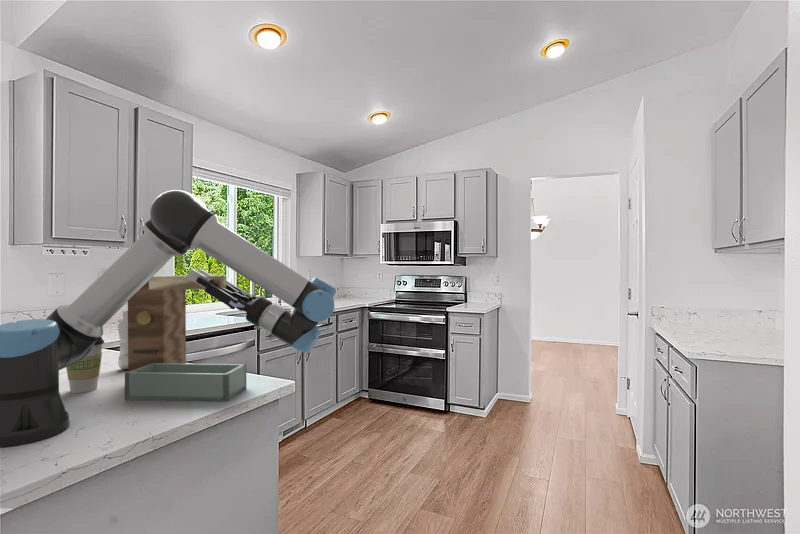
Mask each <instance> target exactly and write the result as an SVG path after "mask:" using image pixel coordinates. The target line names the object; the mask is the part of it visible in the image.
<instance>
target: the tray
mask: <svg viewBox="0 0 800 534" xmlns="http://www.w3.org/2000/svg"><path fill="white" fill-rule="evenodd" d="M246 389H247V364H246V363H244V364H243V363H187V362H186V363H152V364H149V365H146V366H143V367H140V368H138V369H135V370H132V371H129V372H128V371H127V372H125V373H124V400H126V401H127V400H130V401H132V400H138V401H139V400H140V401H143V400H144V401H180V402H182V401H194V402H195V401H196V402H199V401H200V402H229V401H230V400H232V399H233V398H235V397H236V396H237V395H239V394H241V393H242V392H243V391H245V390H246Z"/></svg>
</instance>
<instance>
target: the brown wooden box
mask: <svg viewBox="0 0 800 534" xmlns="http://www.w3.org/2000/svg"><path fill="white" fill-rule="evenodd" d="M186 305H187V304H186V289H167V290H149V281H148V282H147V283H146V284H145V285H144V286H143V287H142V288H141V289H140V290H139V291H138V292H137V293H136V294H135V295H134V296H133V297H132V298H131V299H130V300H128V301H127V310H128V371H127V372H129V371H132V370H135V369H138V368H140V367H143V366H146V365H149V364H152V363H186V364H187V353H186V352H187V351H186V350H187V342H186V340H187V339H186V338H187V337H186V336H187V335H186V333H187V331H186V330H187V329H186V325H187V324H186V322H187V321H186V318H187V317H186V316H187V315H186V313H187V312H186Z"/></svg>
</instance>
